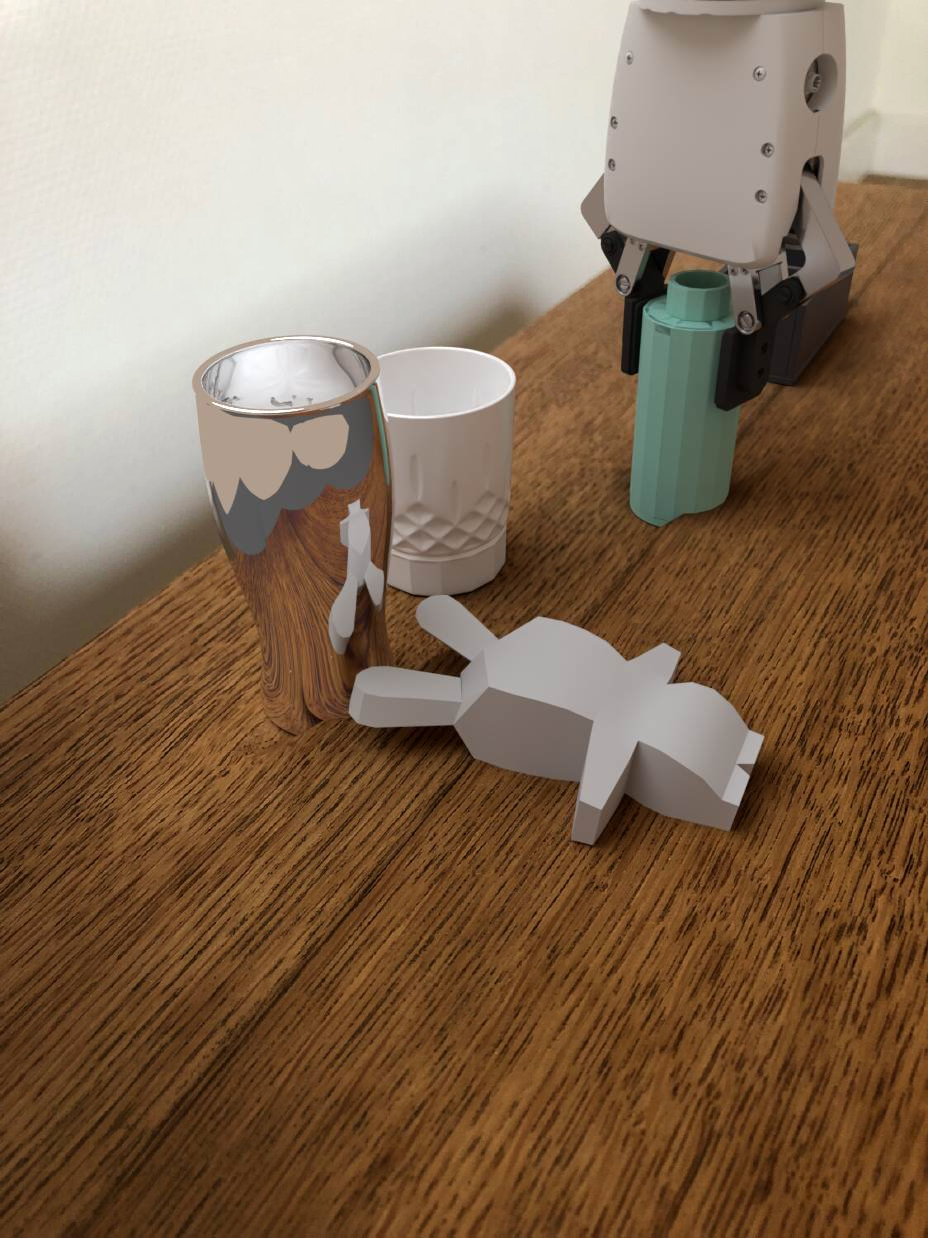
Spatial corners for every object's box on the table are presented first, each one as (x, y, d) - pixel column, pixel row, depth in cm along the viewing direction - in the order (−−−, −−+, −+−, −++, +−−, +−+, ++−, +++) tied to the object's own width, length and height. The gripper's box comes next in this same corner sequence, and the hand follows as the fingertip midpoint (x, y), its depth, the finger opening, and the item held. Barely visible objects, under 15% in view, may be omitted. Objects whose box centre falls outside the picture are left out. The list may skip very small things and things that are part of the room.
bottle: (670, 472, 59) (691, 255, 52) (744, 505, 56) (779, 278, 49) (610, 504, 57) (623, 280, 49) (684, 541, 54) (711, 306, 46)
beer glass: (237, 665, 46) (170, 350, 37) (382, 627, 48) (353, 319, 39) (272, 767, 41) (204, 431, 32) (433, 720, 43) (413, 391, 34)
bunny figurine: (729, 833, 32) (326, 669, 37) (694, 925, 36) (328, 764, 40) (792, 660, 39) (445, 539, 44) (758, 751, 42) (438, 630, 47)
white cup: (430, 626, 48) (417, 434, 42) (333, 559, 53) (310, 379, 47) (548, 561, 52) (551, 378, 46) (448, 505, 57) (440, 333, 51)
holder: (844, 317, 78) (859, 243, 74) (792, 386, 68) (806, 305, 65) (751, 303, 81) (761, 231, 77) (689, 367, 71) (697, 288, 68)
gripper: (985, -37, 38) (882, 412, 49) (634, -51, 48) (613, 321, 59) (876, -18, 34) (790, 465, 45) (520, -37, 45) (520, 358, 55)
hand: (690, 380), depth 52 cm, fingers closed on bottle, 5 cm apart
